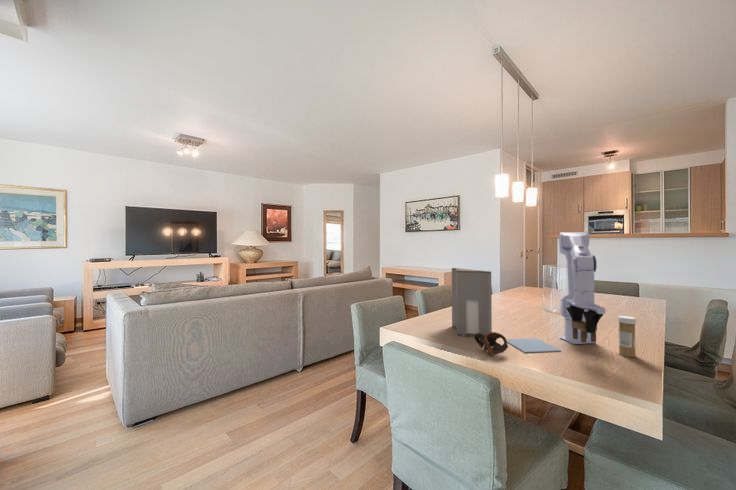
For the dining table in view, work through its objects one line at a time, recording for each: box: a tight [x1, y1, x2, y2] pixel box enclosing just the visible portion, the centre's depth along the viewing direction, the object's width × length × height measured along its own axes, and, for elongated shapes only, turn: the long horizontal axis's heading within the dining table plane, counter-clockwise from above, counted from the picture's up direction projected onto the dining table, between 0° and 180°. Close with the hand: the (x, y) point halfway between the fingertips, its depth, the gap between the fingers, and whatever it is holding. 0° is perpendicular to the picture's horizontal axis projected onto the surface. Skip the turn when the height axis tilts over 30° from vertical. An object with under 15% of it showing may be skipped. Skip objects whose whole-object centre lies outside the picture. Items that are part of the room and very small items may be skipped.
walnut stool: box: [572, 321, 598, 343], centre depth 102 cm, size 5×5×6 cm
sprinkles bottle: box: [618, 315, 637, 358], centre depth 104 cm, size 5×5×14 cm
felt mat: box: [506, 337, 562, 354], centre depth 115 cm, size 14×14×1 cm
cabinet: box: [451, 267, 493, 337], centre depth 131 cm, size 21×10×28 cm, turn 30°
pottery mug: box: [473, 331, 509, 357], centre depth 109 cm, size 12×10×8 cm
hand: (584, 330), depth 102 cm, fingers closed on walnut stool, 5 cm apart
